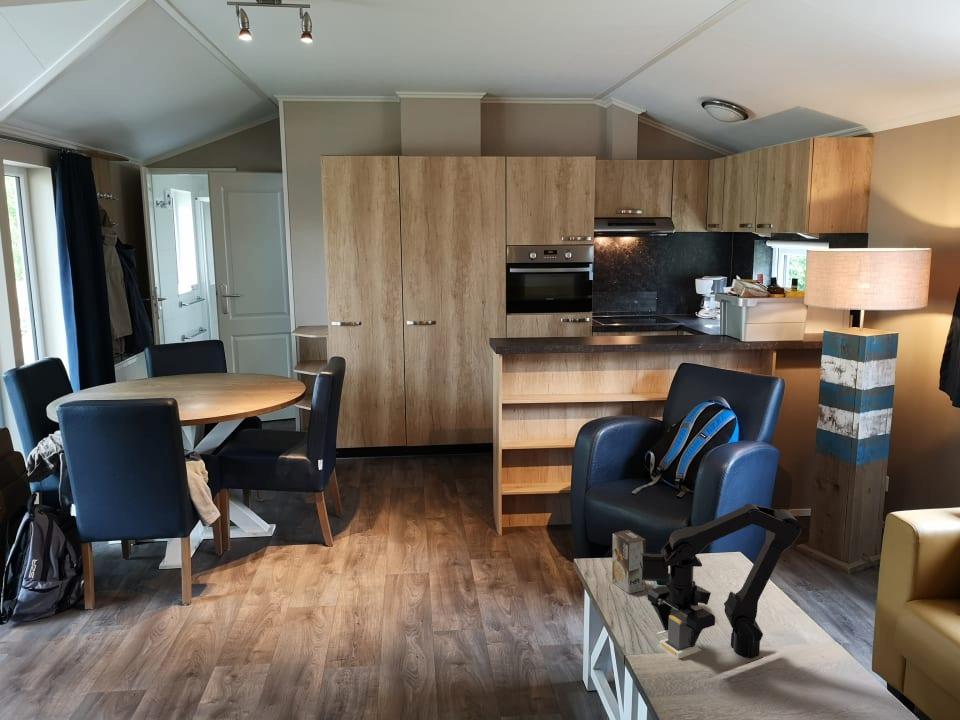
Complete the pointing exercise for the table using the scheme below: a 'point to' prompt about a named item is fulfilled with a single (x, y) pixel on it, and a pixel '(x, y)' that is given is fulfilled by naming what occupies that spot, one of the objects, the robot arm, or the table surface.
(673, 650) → the header board
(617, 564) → the coffee box
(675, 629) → the plug
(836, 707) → the table surface
